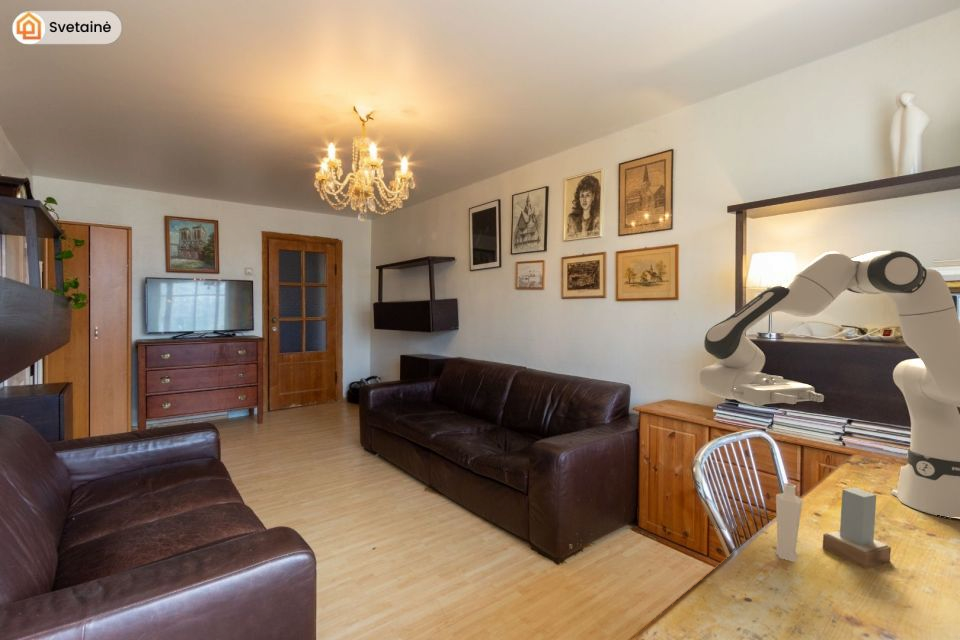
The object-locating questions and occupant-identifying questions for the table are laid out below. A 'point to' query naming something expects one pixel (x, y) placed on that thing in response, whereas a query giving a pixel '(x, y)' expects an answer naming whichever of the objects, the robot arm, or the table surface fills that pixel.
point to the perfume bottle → (787, 522)
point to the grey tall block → (858, 515)
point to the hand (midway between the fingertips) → (808, 399)
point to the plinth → (857, 550)
